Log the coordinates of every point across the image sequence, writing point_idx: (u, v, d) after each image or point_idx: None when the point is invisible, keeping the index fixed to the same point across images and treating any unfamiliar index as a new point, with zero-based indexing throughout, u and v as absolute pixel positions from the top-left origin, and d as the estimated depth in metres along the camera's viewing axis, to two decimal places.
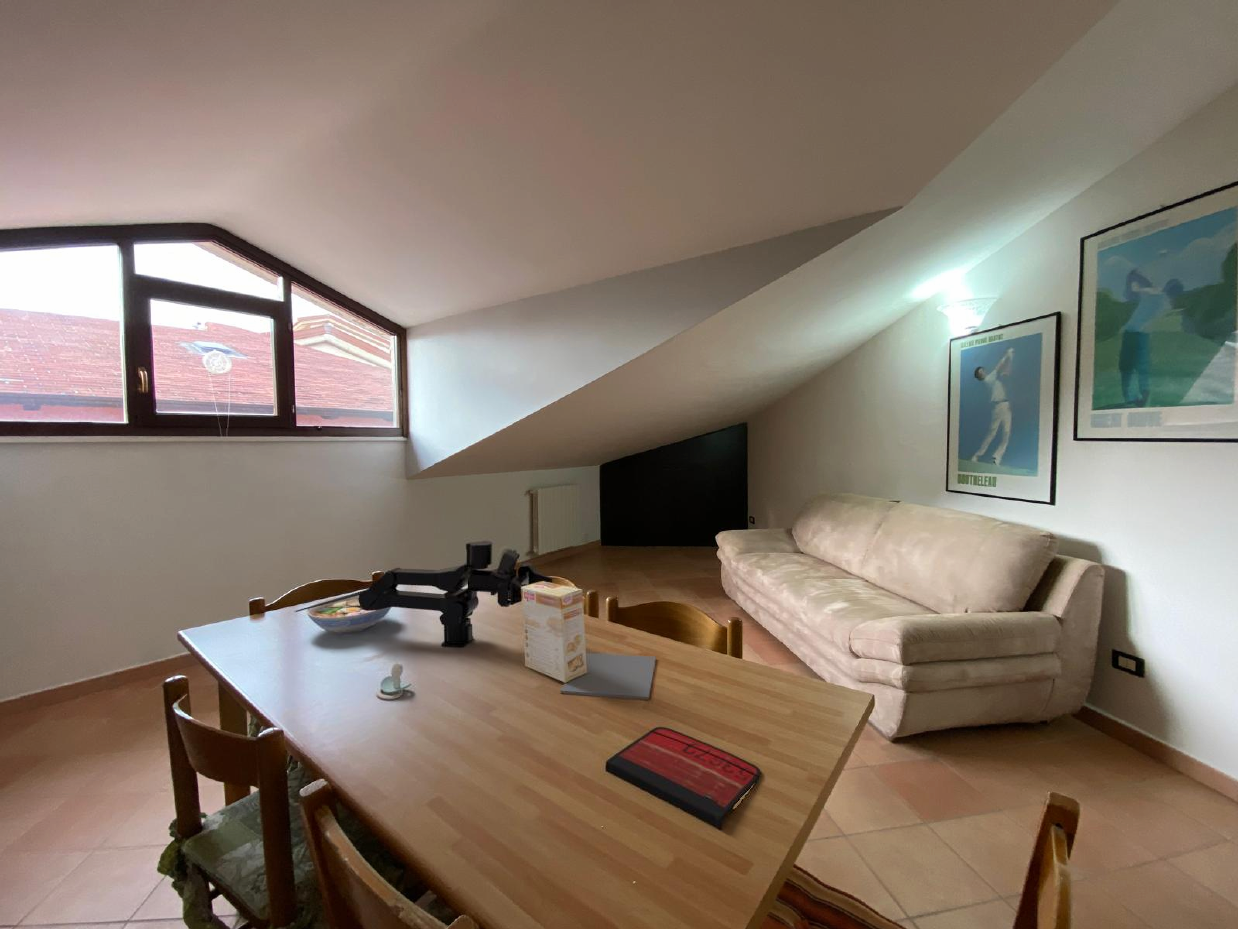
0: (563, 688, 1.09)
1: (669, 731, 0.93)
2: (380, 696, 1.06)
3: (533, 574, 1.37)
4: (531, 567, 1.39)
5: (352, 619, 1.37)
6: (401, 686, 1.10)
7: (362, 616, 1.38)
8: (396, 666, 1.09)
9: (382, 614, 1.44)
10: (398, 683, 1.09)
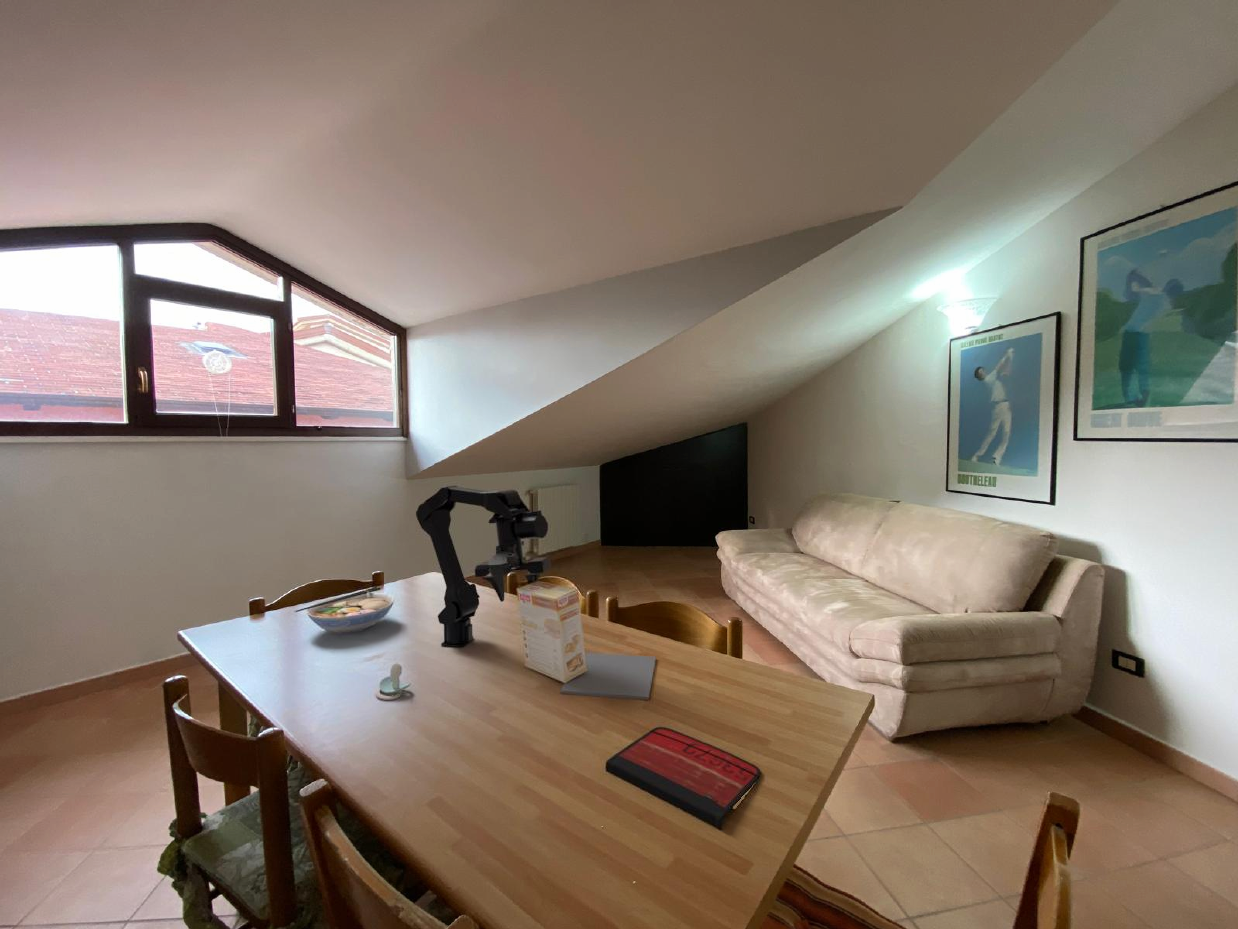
0: (563, 688, 1.09)
1: (669, 731, 0.93)
2: (379, 696, 1.06)
3: None
4: (529, 576, 1.24)
5: (352, 619, 1.37)
6: (400, 686, 1.10)
7: (362, 616, 1.38)
8: (395, 666, 1.09)
9: (382, 614, 1.44)
10: (397, 683, 1.09)
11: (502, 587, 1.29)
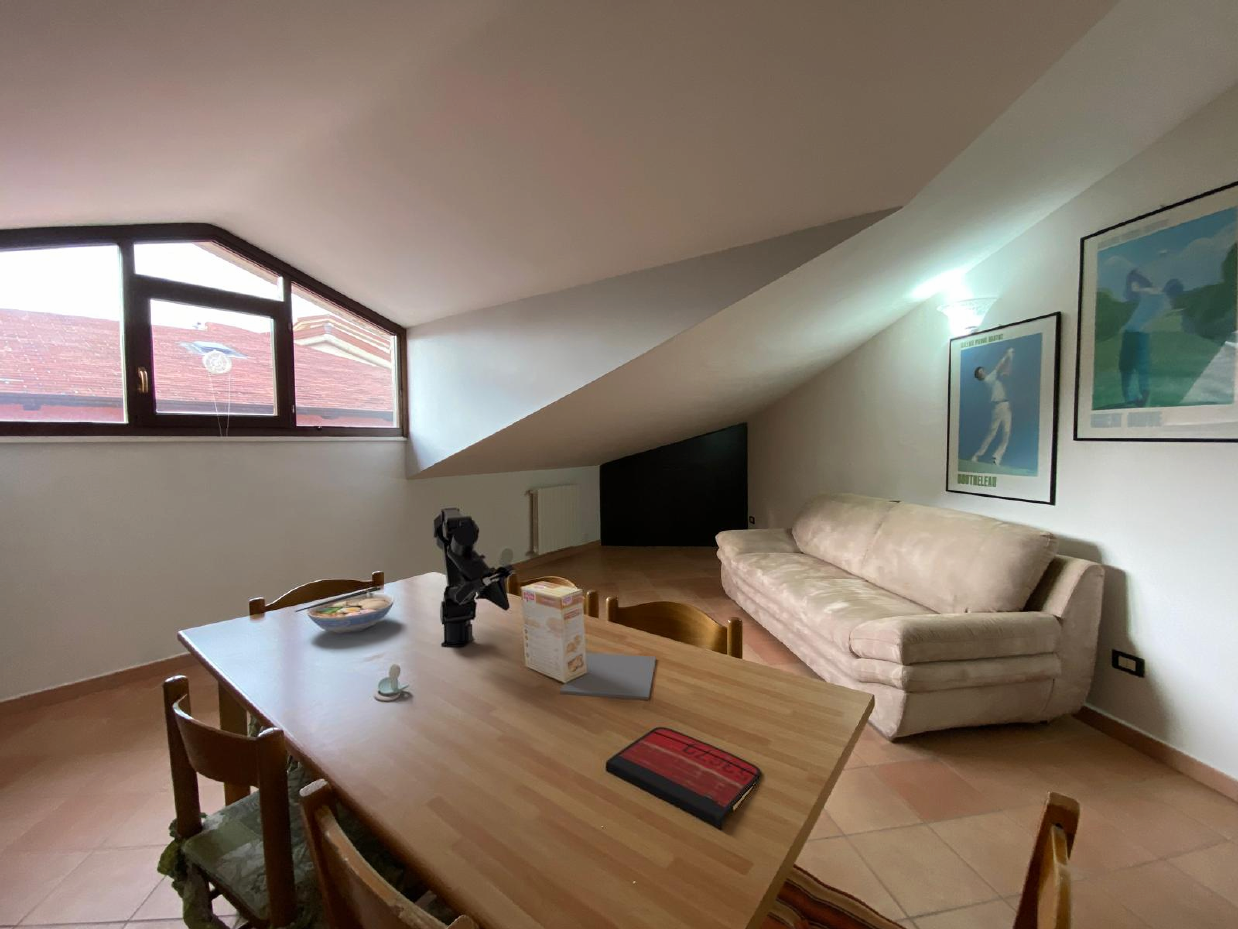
0: (563, 688, 1.09)
1: (669, 731, 0.93)
2: (377, 697, 1.06)
3: None
4: None
5: (352, 619, 1.37)
6: (399, 687, 1.09)
7: (362, 616, 1.38)
8: (394, 667, 1.09)
9: (382, 614, 1.44)
10: (396, 684, 1.08)
11: None
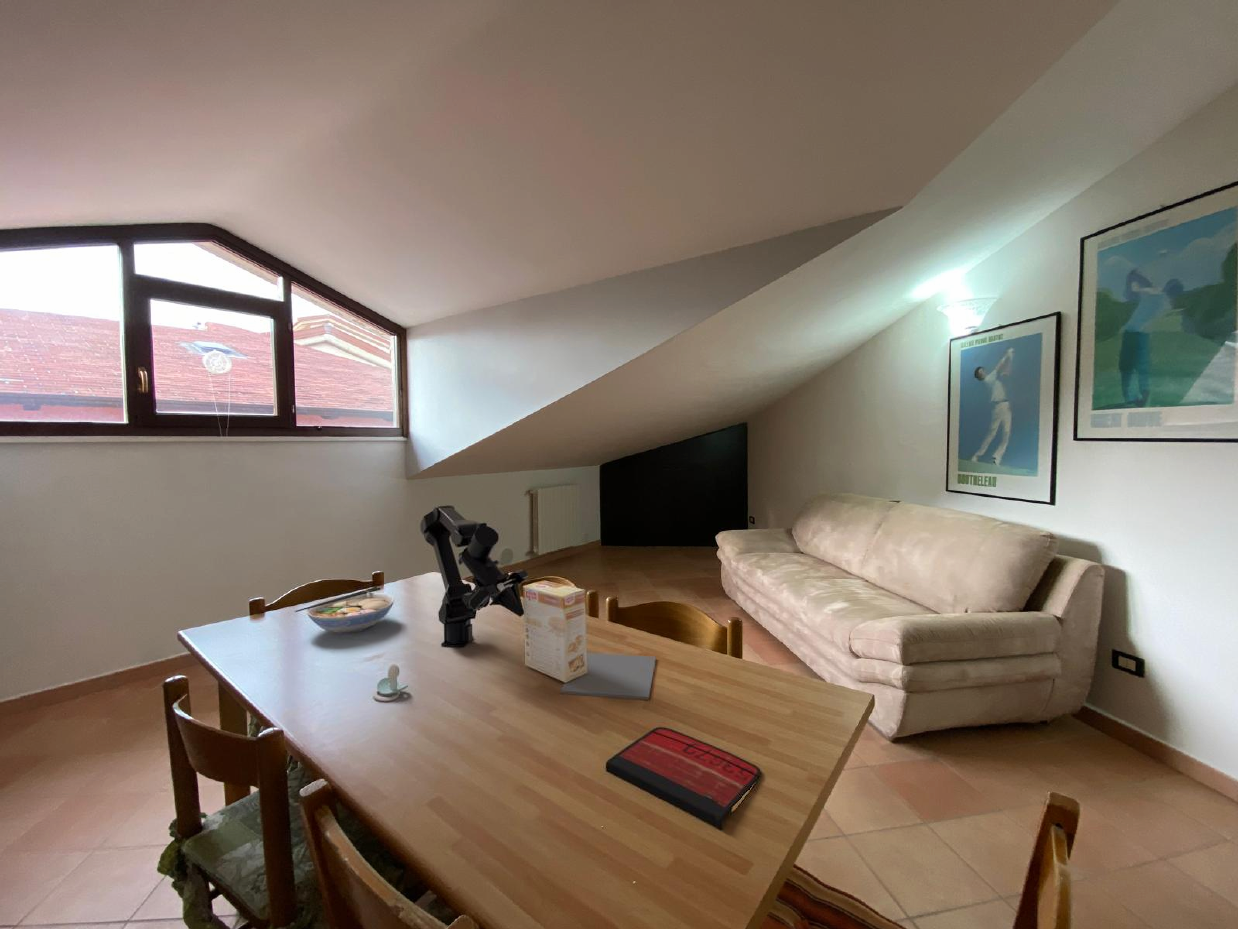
0: (563, 688, 1.09)
1: (669, 731, 0.93)
2: (376, 698, 1.06)
3: None
4: None
5: (352, 619, 1.37)
6: (398, 688, 1.09)
7: (362, 616, 1.38)
8: (393, 668, 1.09)
9: (382, 614, 1.44)
10: (395, 685, 1.08)
11: None
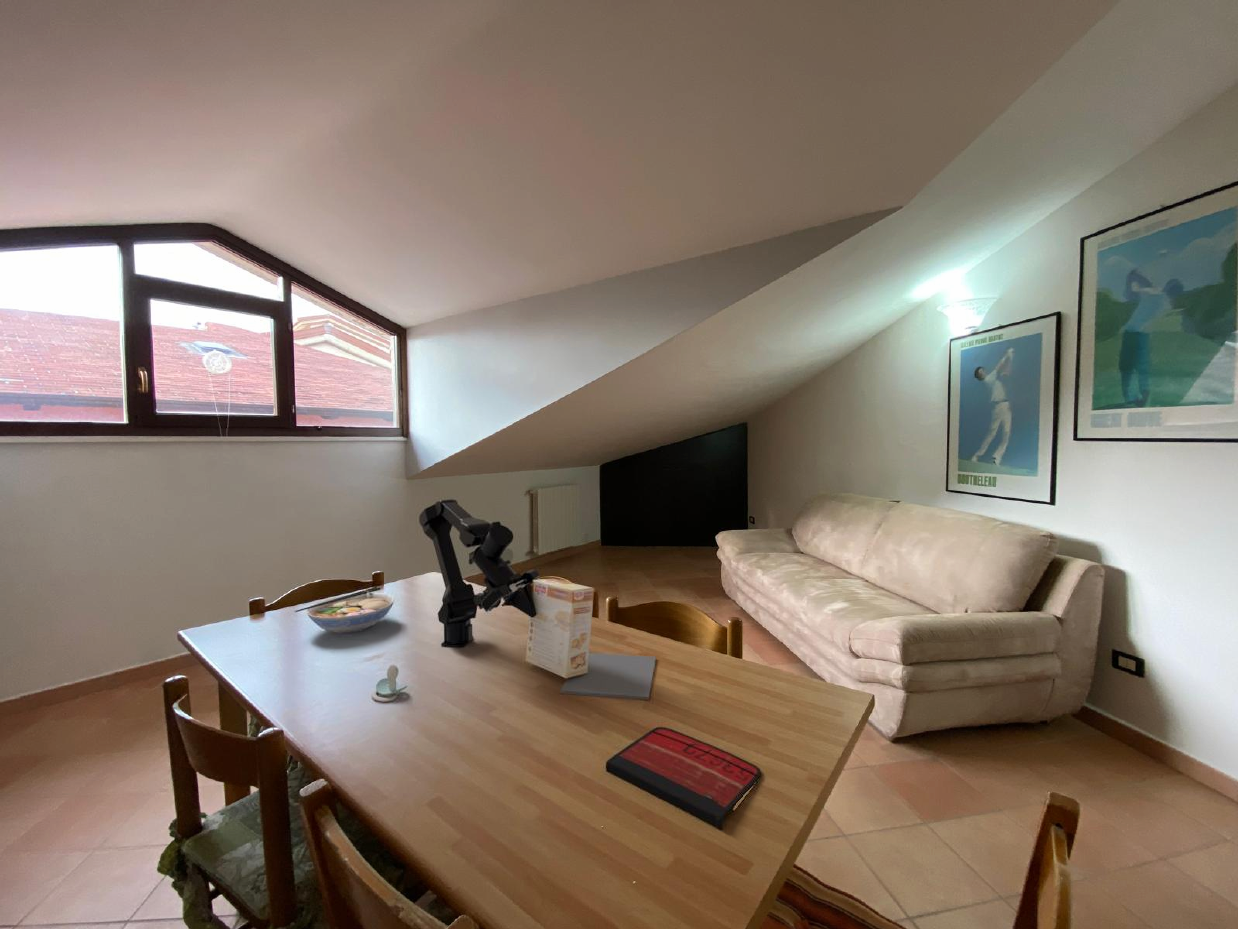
0: (563, 688, 1.09)
1: (669, 731, 0.93)
2: (375, 698, 1.05)
3: None
4: None
5: (352, 619, 1.37)
6: (397, 688, 1.09)
7: (362, 616, 1.38)
8: (392, 668, 1.08)
9: (382, 614, 1.44)
10: (394, 685, 1.08)
11: None
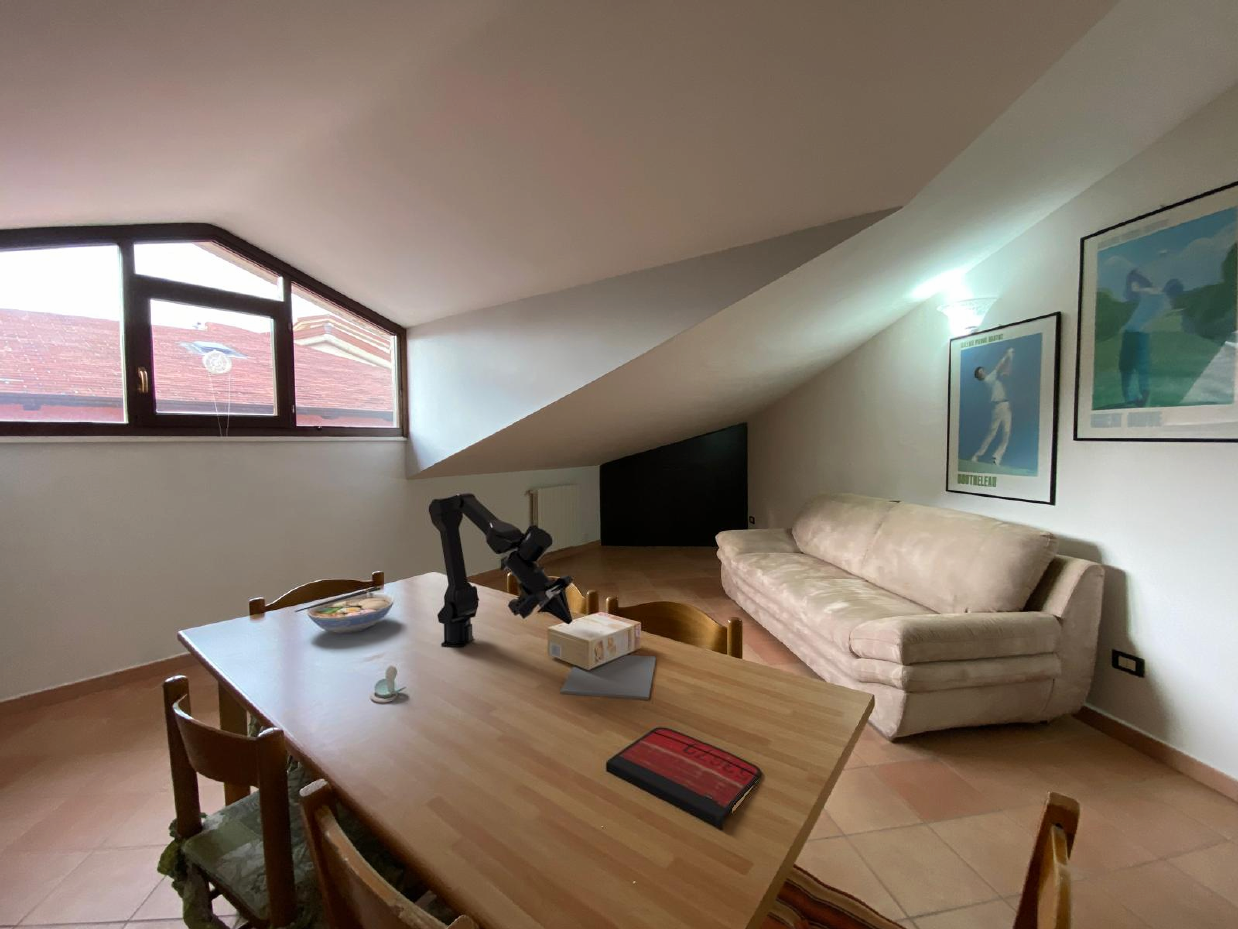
0: (563, 688, 1.09)
1: (669, 731, 0.93)
2: (374, 699, 1.05)
3: None
4: None
5: (352, 619, 1.37)
6: (395, 689, 1.09)
7: (362, 616, 1.38)
8: (390, 669, 1.08)
9: (382, 614, 1.44)
10: (392, 686, 1.08)
11: None
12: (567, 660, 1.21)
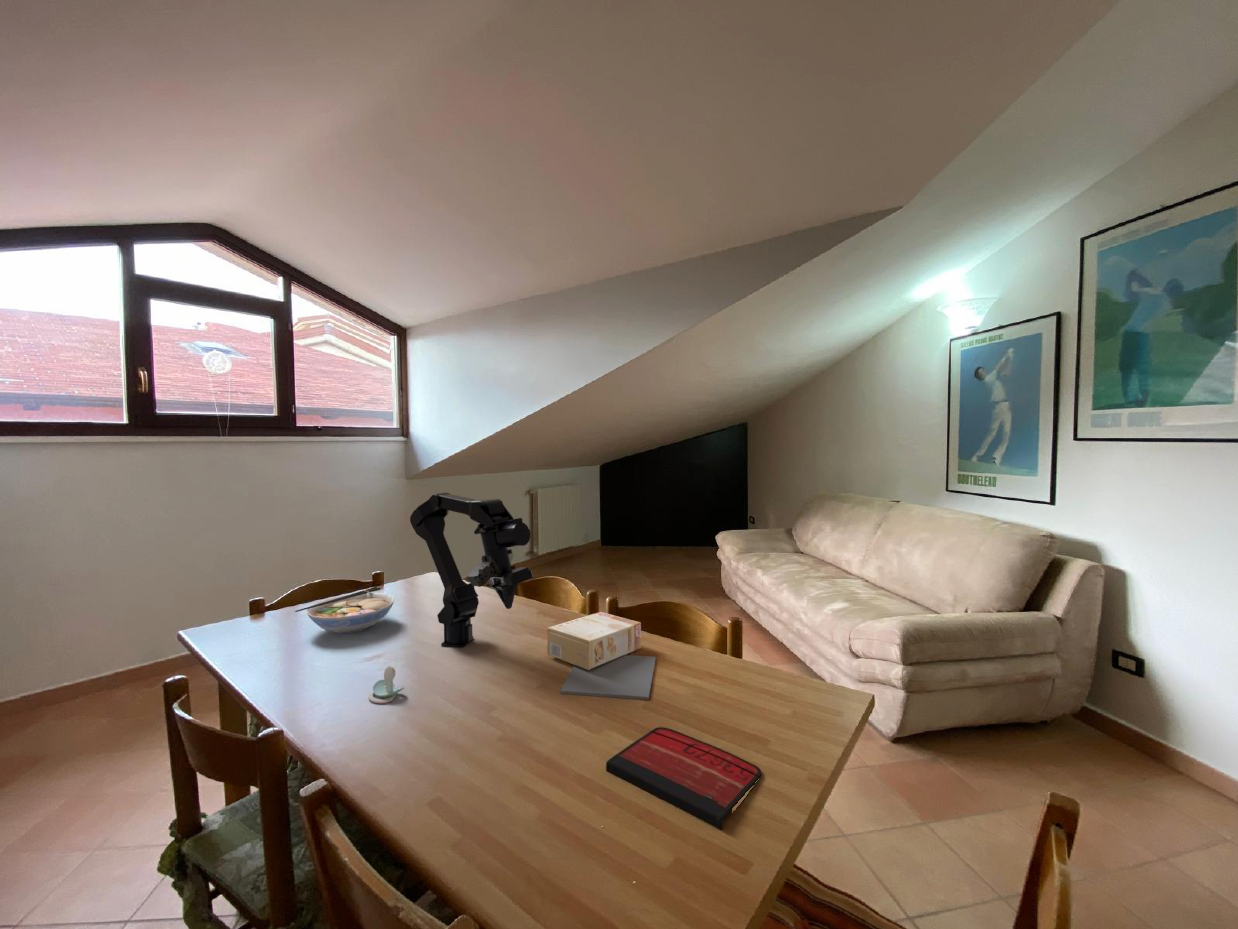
0: (563, 688, 1.09)
1: (669, 731, 0.93)
2: (372, 700, 1.05)
3: None
4: (498, 587, 1.25)
5: (352, 619, 1.37)
6: (394, 690, 1.08)
7: (362, 616, 1.38)
8: (388, 669, 1.08)
9: (382, 614, 1.44)
10: (390, 687, 1.07)
11: None
12: (567, 660, 1.21)
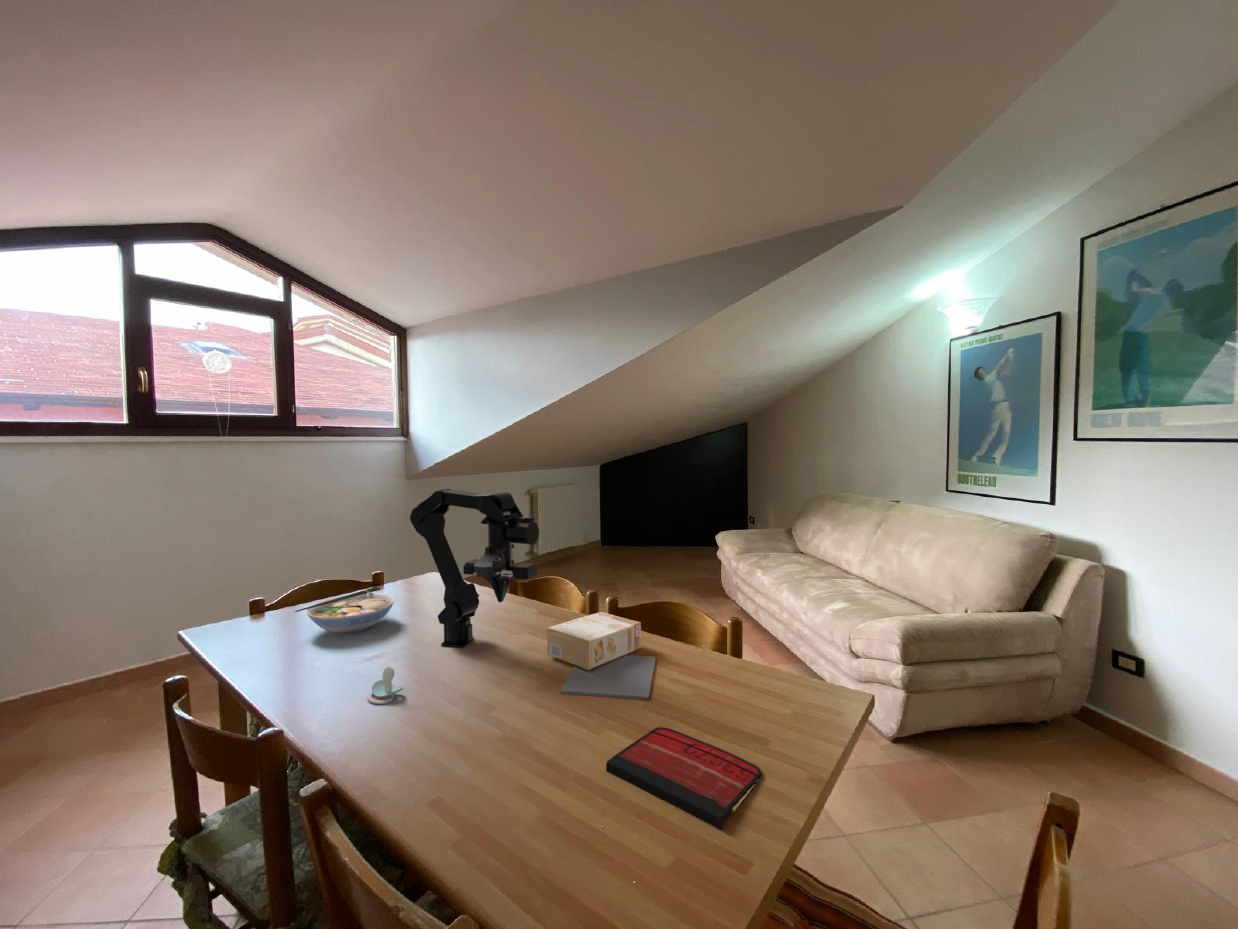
0: (563, 688, 1.09)
1: (670, 731, 0.93)
2: (371, 701, 1.05)
3: None
4: (500, 580, 1.26)
5: (352, 619, 1.37)
6: (392, 690, 1.08)
7: (362, 616, 1.38)
8: (387, 670, 1.08)
9: (382, 614, 1.44)
10: (389, 687, 1.07)
11: None
12: (567, 660, 1.21)
